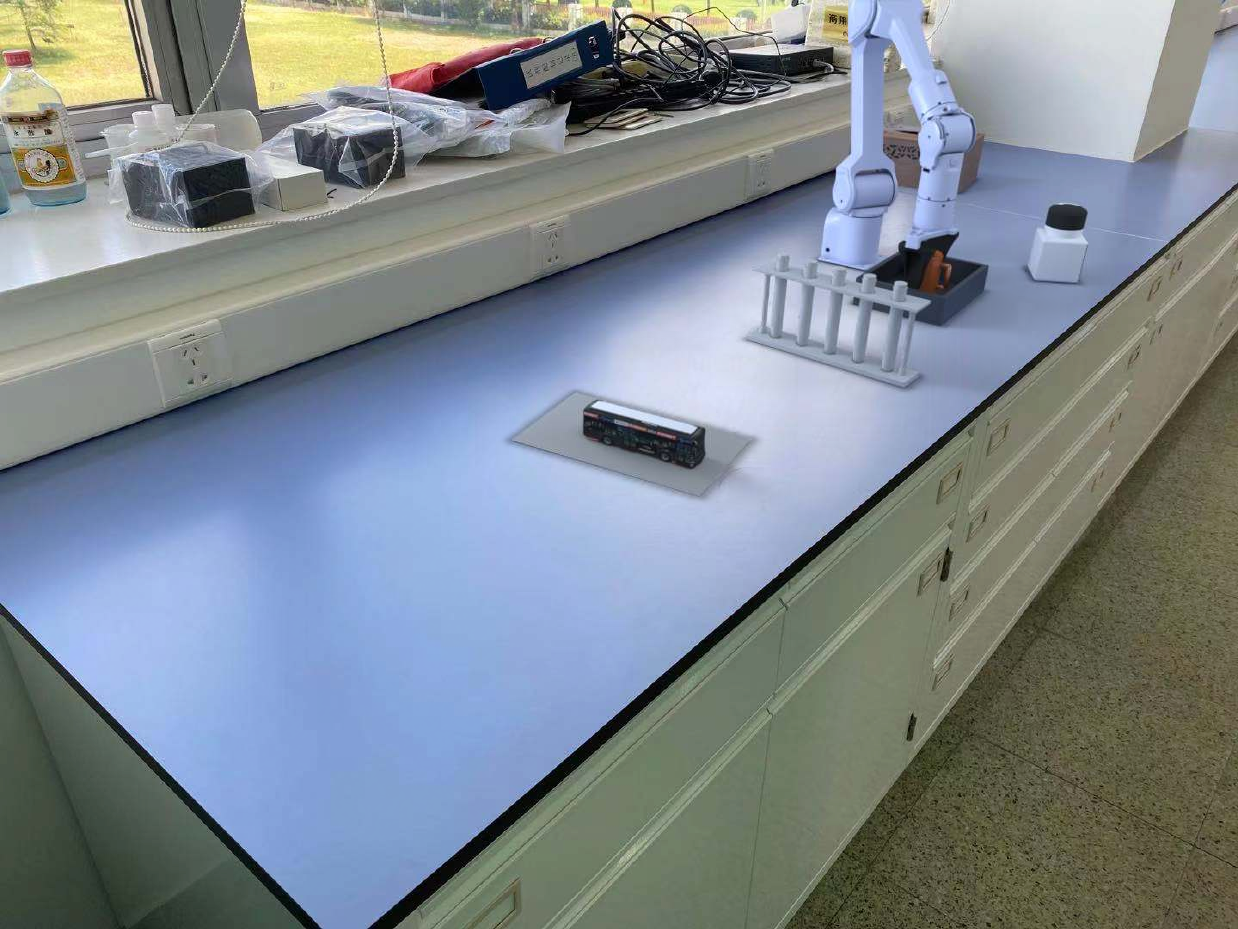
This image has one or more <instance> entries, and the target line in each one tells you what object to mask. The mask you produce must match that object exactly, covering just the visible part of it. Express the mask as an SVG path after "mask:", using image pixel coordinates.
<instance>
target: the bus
mask: <svg viewBox="0 0 1238 929" xmlns="http://www.w3.org/2000/svg"><path fill="white" fill-rule="evenodd" d="M511 441H514V442H517V443H521V444H524V445H527V446H529V447H530V446H531V447H533V448H537V449H541V450H544V451H547V452H551V453H554V454H557V455H560V456H564V457H567V458H570V459H574V460H577V461H581V462H584V463H587V464H591V465H594V466H596V467H597V466H598V467H600V468H603V469H607V470H611V471H614V472H616V473H617V472H618V473H621V474H624V475H627V476H631V477H634V478H638V479H641V480H644V481H647V482H650V483H654V484H657V485H660V486H664V487H667V488H671V489H673V490H677V491H680V492H685V493H687V494H691V495H694V496H698V497H700V496H701V495H702V494H703V493H704V492H705V491H706V489H707V488H708V487H709V486H710V485H711V484H712V483H713V482H714V481H715V480H716V478H717V477H718V476H720V474H721V473H722V472H723V471H724V469H726V468H727V466H728V465H729V464H730V463H731V462H732V461H733V460H734V459H735V457H737V455H739V453H740V452H741V451H742V450H743V449H744V448H745V446H746V445H747V444H748V443H750V441H751V438H748V437H745V436H741V435H736V434H733V433H729V432H725V431H721V430H718V429H715V428H711V427H706V426H703V425H700V424H696V423H691V422H689V421H685V420H680V419H677V418H673V417H670V416H665V415H662V414H658V413H655V412H650V411H647V410H644V409H643V410H642V409H638V408H636V407H631V406H627V405H624V404H620V403H617V402H613V401H609V400H605V399H601V398H597V397H594V396H590V395H586V394H582V393H579V392H574V393H573V394H570V395H569V396H568V397H567V398H565V400H563V401H561V402H560V403H559V404H557V405H556V406H555V407H553V408H552V409H550V410H549V411H548V412H547V413H545V414H544V415H543V416H541V417H540V418H538V419H537V420H536V421H534V422H533V423H532V424H530V425H529V426H528V427H527V428H525V429H524V430H523V431H522V432H520V433H519V434H517V435H516V436H515V437H514V438H512V439H511Z"/></svg>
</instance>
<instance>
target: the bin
mask: <svg viewBox="0 0 1238 929" xmlns="http://www.w3.org/2000/svg"><path fill="white" fill-rule="evenodd" d="M944 263H945V264H950V265H951V266H952V267H951V272H950V277H949V283H948V288H947V290H946V291H944V290H940V289H937V294H933V293H929V292H924V291H920V290H916V289H911V288H908V289H907V293H906V295H910V296H914V297H918V298H922V299H926V300H930V301H931V304H929V305H928V306H926V307H925V308H923V309H922V310H920V311H919V312H917V314H916V316H915V321H918V322H922V323H926V324H930V325H933V326H934V325H935V326H938V327H941V326H943V325H944V324H945V323H946V322H948V321H949V320H950V319H952V318H953V317H954V316H955V315H956V314H958V313H959V312H960V311H962V309H964V308H966V306H968V305H969V304H970V303H971V302H972V301H974V300H975V299H977V297H979V296H980V295H981V294H982V293H983V292H984V290H985V286H986V282H987V276H988V272H989V267H990V265H989V264H985V263H981V262H975V261H972V260H971V261H970V260H966V259H962V258H961V259H960V258H956V257H952V256H948V255H947V256H946V258H945V260H944ZM867 273H870V274H875V275H876V279H877V281H876V284H875V287H878V288H882V289H886V290H890V291H893V289H894V288H893V286H894V285H895V282H896V281H904V282H905V272H904V265H903V260H902V257H901V254H900V252H899V250H898V251H896V252H895V253H893V254H891V255H889V256H888V257H887V258H885V260H883V261H882V262H880V263H878V264H877V265H875V266H874V267H872V268H870V269H869V270H865V272H863V273H861V274H860V275H857V277H855V282H858V283H862V282H863V280H862V278H864V274H867ZM945 274H946V268H941V272H940V278H939V283H938V285H943V284H944V279H945ZM859 303H860V298H857V297H853V299H852V305H854V306H858V307H859ZM890 307H891V306H888V305H884V304H880V303H876V302H873V305H872V310H875V311H878V312H882V313H886V314H889V313H890ZM902 318H907V319H909V311H907V310H904V311H903V317H902Z"/></svg>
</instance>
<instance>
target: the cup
mask: <svg viewBox="0 0 1238 929" xmlns="http://www.w3.org/2000/svg"><path fill="white" fill-rule="evenodd" d="M943 256H944V255H943V253H942V252H940V251H938V250H937V251H936V252H935V253H934V255H933V256H932V258H931V260H930V262H929V264H928V266H927V269H926V272H925V275H924V279H923V282H922V284H921V286H920V288H919V289H916V290H920V291H924V292H929V293H933V294H937V289H940V290H944V291H946V290H947V288H948V283H949V277H950V272H951V267H952V266H951V265H950V264H945V263H942V261H943ZM941 267H942V268H946V274H945V279H944V284H943V285H938V283H939V278H940V272H941ZM911 289H913V288H911Z"/></svg>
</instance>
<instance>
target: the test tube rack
mask: <svg viewBox="0 0 1238 929" xmlns="http://www.w3.org/2000/svg"><path fill="white" fill-rule="evenodd" d="M775 259H776V261H774V260H770V259H768V260H765V261H764V262H762V263H760V264H757V265H755V266H753V267H752V271H754V272H756V273H757V272H758V273H762V274H763V275H764V280H763V281H764V283H763V294H762V307H761V316H760V318H761V319H760V325H759V327H758V328H756V329H754V330H752V331H750V332H749V333H747V334H746V338H745V339H746V340H747V341H750V342H753V343H757V344H761V345H764V346H767V347H770V348H773V349H776V350H780V351H782V352H783V351H784V352H786V353H789V354H793V355H796V356H800V357H802V358H806V359H809V360H812V361H816V362H819V363H823V364H826V365H828V366H832V367H835V368H838V369H841V370H845V371H848V372H851V373H854V374H858V375H861V376H864V377H867V378H871V379H874V380H878V381H881V382H882V383H887V384H890V385H894V386H897V387H900V388H906V387H908V385H910V384H911V383H912V382H913V381H915V380H916V379H917V378H918V377H919V375H920V374H919V373H920V371H918V370H914V369H911V368H908V363H909V362H908V361H909V355H910V350H911V344H912V339H913V333H914V328H915V321H916V320H915V316H916V314H917V312H919V311H920V310H922V309H923V308H925V307H926V306H928V305H929V304H931V301H930V300H926V299H922V298H918V297H914V296H910V295H906V293H907V289H908V287H907V285H908V283H907V282H904V281H896V282H895V285H894V286H893V288H894V289H893V291H890V290H886V289H882V288H878V287H875V284H876V281H877V279H876V275H875V274H870V273H867V274H864V278H862V280H863V282H862V283H858V282H856V281H853V280H850V279H846V278H847V277H846V276H847V273H848V272H847V268H846V266H843V265H836V266H834V267H833V270H832V275H830V274H825V273H822V272H818V271H817V270H818V266H819V265H818V260H816V259H814V258H813V259H812V258H808V259H805V260H804V264H803V268H802V267H798V266H794V265H790V260H791V258H790V253H788V252H783V251H782V252H778V253H777V256H776V258H775ZM772 276H773V277H774V284H773V285H774V286H773V296H772V305H771V317H770V318H771V319H770V327H769V326H768V325H767V321H768V311H769V310H768V309H769V299H770V287H771V277H772ZM788 281H792V282H796V283H799V284H802V285H801V294H800V301H799V302H800V304H799V311H798V322H797V332H796V334H793V333H790V332H786V331H783V326H784V318H785V307H786V296H787V288H788V287H787V286H788ZM815 288H819V289H823V290H827V291H829V292H830V295H829V301H828V310H827V319H826V327H825V334H824V343H823V342H819V341H816V340H812V339H810V331H811V325H812V324H811V323H812V315H813V307H814V306H813V305H814V297H815ZM844 295H846V296H848V297H849V296H850V297H853V298H854V297H857V298H860V303H859V306H858V312H857V318H856V323H855V324H856V325H855V326H856V327H855V330H854V331H855V332H854V340H853V345H852V346H853V347H852V351H850V350H846V349H843V348H840V347H837V345H838V337H839V330H840V323H841V315H842V314H841V313H842V309H843V308H842V307H843V299H844ZM873 302H876V303H880V304H884V305H888V306H891V307H890V313H888V319H887V320H888V321H887V327H886V333H885V339H884V344H883V345H884V346H883V352H882V359H881V360H880V359H877V358H874V357H870V356H867V355H866V351H867V344H868V339H869V331H870V326H871V325H870V324H871V319H872V310H873V309H872V305H873ZM904 310H907V311H909V318H907V326H906V331H905V338H904V344H903V350H902V355H901V361H900V365H897V364H895V363H896V358H897V353H898V347H899V340H900V336H901V329H902V323H903V318H904V317H903V311H904Z"/></svg>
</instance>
